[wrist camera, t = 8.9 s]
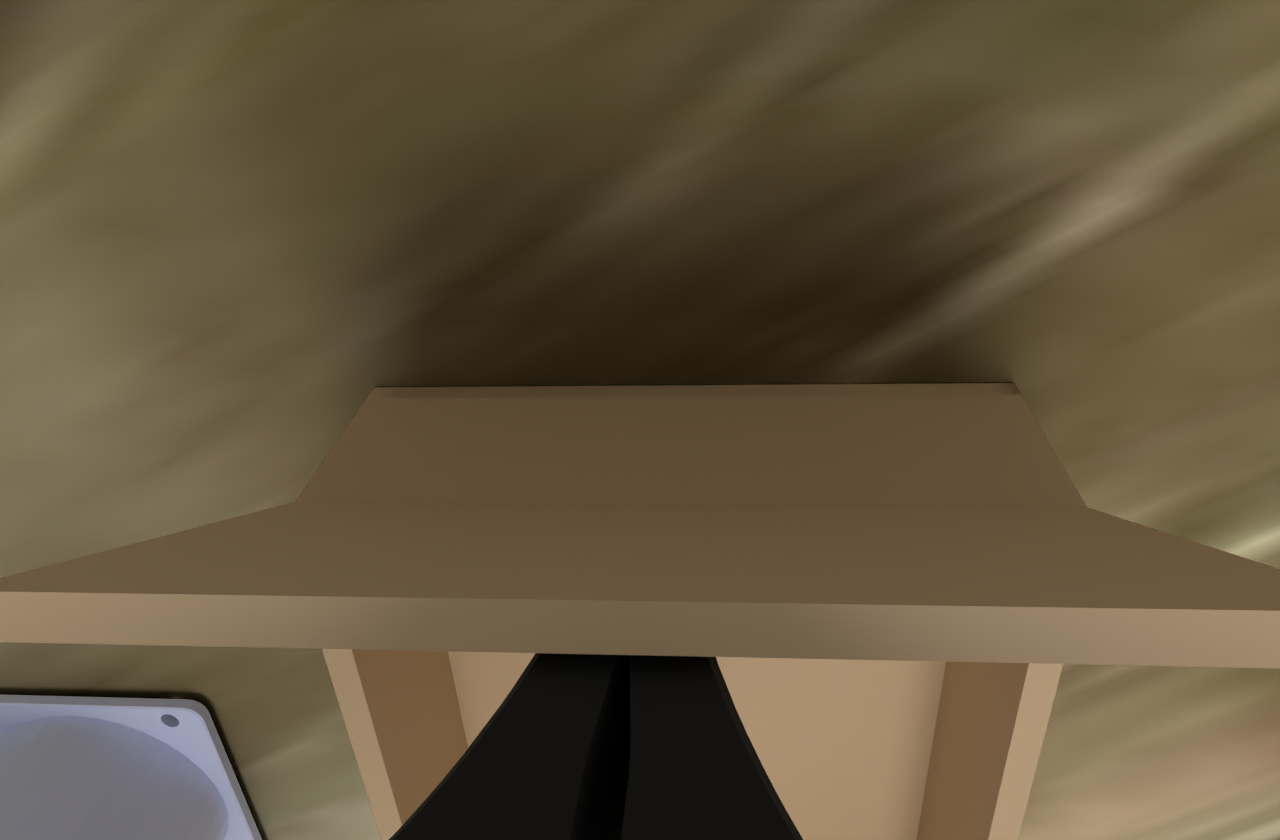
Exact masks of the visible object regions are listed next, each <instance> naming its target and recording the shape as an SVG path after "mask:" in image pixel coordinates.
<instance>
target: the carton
mask: <svg viewBox="0 0 1280 840" xmlns="http://www.w3.org/2000/svg"><path fill="white" fill-rule="evenodd" d="M295 503H370V504H562V505H754V506H945V507H1087V506H1086V505H1085V503H1084V501H1083V499H1082V498H1081V496H1080V494H1079V493H1078V491H1077V489H1076V488H1075V486H1074V484H1073V482H1072V481H1071V479H1070V477H1069V476H1068V474H1067V472H1066V470H1065V469H1064V467H1063V465H1062V464H1061V462H1060V460H1059V459H1058V457H1057V455H1056V453H1055V452H1054V450H1053V448H1052V447H1051V445H1050V443H1049V441H1048V440H1047V438H1046V436H1045V435H1044V433H1043V431H1042V430H1041V428H1040V426H1039V424H1038V423H1037V421H1036V419H1035V418H1034V416H1033V414H1032V412H1031V411H1030V409H1029V407H1028V406H1027V404H1026V402H1025V401H1024V399H1023V397H1022V395H1021V394H1020V392H1019V390H1018V389H1017V387H1016V385H1015V384H1014V383H950V384H806V385H661V386H516V387H374V389H373V390H372V392H371V393H370V394H369V396H368V397H367V399H366V400H365V402H364V403H363V405H362V406H361V408H360V409H359V410H358V412H357V413H356V415H355V416H354V418H353V419H352V421H351V422H350V423H349V425H348V426H347V428H346V429H345V431H344V432H343V434H342V435H341V437H340V438H339V439H338V441H337V442H336V444H335V445H334V447H333V448H332V450H331V451H330V452H329V454H328V455H327V457H326V458H325V460H324V461H323V463H322V464H321V466H320V467H319V468H318V470H317V471H316V473H315V474H314V476H313V477H312V479H311V480H310V482H309V483H308V484H307V486H306V487H305V489H304V490H303V492H302V493H301V495H300V496H299V497H298V499H297V500H296V502H295ZM322 651H323V654H324V657H325V661H326V664H327V667H328V670H329V673H330V677H331V680H332V683H333V686H334V690H335V693H336V696H337V699H338V702H339V706H340V709H341V712H342V715H343V719H344V722H345V725H346V728H347V731H348V735H349V738H350V741H351V744H352V748H353V751H354V754H355V757H356V761H357V764H358V767H359V770H360V773H361V777H362V780H363V783H364V786H365V790H366V793H367V796H368V799H369V802H370V806H371V809H372V812H373V815H374V819H375V822H376V825H377V828H378V831H379V835H380V838H381V840H389V839H390V838H391V837H392V836H393V835H394V834H395V833H396V832H397V831H398V830H399V828H400V827H401V826H402V825H403V824H404V823H405V822H406V821H407V820H408V819H409V817H410V816H411V815H412V814H413V813H414V812H415V811H416V810H417V808H418V807H419V806H420V805H421V804H422V803H423V802H424V801H425V800H426V798H427V797H428V796H429V795H430V794H431V793H432V792H433V790H434V789H435V788H436V787H437V786H438V785H439V783H440V782H441V781H442V780H443V779H444V777H445V776H446V775H447V774H448V773H449V771H450V770H451V769H452V768H453V766H454V765H455V764H456V763H457V762H458V760H459V759H460V758H461V757H462V755H463V754H464V753H465V752H466V750H467V749H468V748H469V746H470V745H471V744H472V742H473V741H474V740H475V738H476V737H477V736H478V734H479V733H480V732H481V730H482V729H483V728H484V726H485V725H486V724H487V722H488V721H489V720H490V718H491V717H492V716H493V715H494V713H495V712H496V711H497V709H498V708H499V707H500V705H501V704H502V702H503V701H504V700H505V698H506V697H507V695H508V694H509V693H510V691H511V690H512V688H513V687H514V685H515V684H516V682H517V681H518V679H519V678H520V676H521V675H522V673H523V672H524V670H525V669H526V667H527V666H528V664H529V663H530V661H531V660H532V658H533V657H534V655H535V653H504V652H455V651H406V650H357V649H322ZM716 659H717V662H718V665H719V668H720V670H721V673H722V675H723V678H724V680H725V683H726V685H727V688H728V690H729V693H730V695H731V698H732V700H733V703H734V705H735V708H736V710H737V712H738V714H739V717H740V719H741V721H742V723H743V726H744V728H745V730H746V732H747V735H748V737H749V739H750V741H751V743H752V745H753V747H754V749H755V751H756V753H757V755H758V757H759V759H760V761H761V763H762V765H763V768H764V769H765V771H766V773H767V775H768V777H769V779H770V781H771V783H772V785H773V787H774V789H775V791H776V792H777V794H778V796H779V798H780V800H781V802H782V804H783V805H784V807H785V809H786V811H787V812H788V814H789V816H790V818H791V819H792V821H793V823H794V825H795V826H796V828H797V830H798V831H799V833H800V835H801V837H802V838H803V840H1018V837H1019V833H1020V829H1021V825H1022V822H1023V818H1024V814H1025V810H1026V806H1027V802H1028V798H1029V794H1030V791H1031V787H1032V783H1033V779H1034V775H1035V771H1036V767H1037V763H1038V760H1039V756H1040V752H1041V748H1042V744H1043V740H1044V736H1045V732H1046V729H1047V725H1048V721H1049V717H1050V713H1051V709H1052V705H1053V701H1054V698H1055V694H1056V690H1057V686H1058V682H1059V678H1060V674H1061V670H1062V667H1063V664H1040V663H991V662H943V661H894V660H845V659H796V658H747V657H716Z"/></svg>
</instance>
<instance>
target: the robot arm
mask: <svg viewBox="0 0 1280 840" xmlns="http://www.w3.org/2000/svg"><path fill="white" fill-rule="evenodd" d="M0 840H262V838H261V836H260V833H259V831H258V829H257V826H256V824H255V821H254V819H253V817H252V814H251V812H250V809H249V807H248V805H247V802H246V800H245V797H244V795H243V793H242V790H241V788H240V785H239V783H238V781H237V778H236V776H235V773H234V771H233V769H232V766H231V764H230V761H229V759H228V757H227V754H226V752H225V749H224V747H223V744H222V742H221V740H220V737H219V735H218V732H217V730H216V728H215V725H214V723H213V720H212V718H211V716H210V713H209V711H208V710H207V708H206V707H205V706H204V705H203V704H201V703H200V702H197V701H195V700H189V699H155V698H117V697H79V696H40V695H2V694H0ZM389 840H803V838H802V837H801V835H800V833H799V831H798V830H797V828H796V826H795V825H794V823H793V821H792V819H791V818H790V816H789V814H788V812H787V811H786V809H785V807H784V805H783V804H782V802H781V800H780V798H779V796H778V794H777V792H776V791H775V789H774V787H773V785H772V783H771V781H770V779H769V777H768V775H767V773H766V771H765V769H764V768H763V765H762V763H761V761H760V759H759V757H758V755H757V753H756V751H755V749H754V747H753V745H752V743H751V741H750V739H749V737H748V735H747V732H746V730H745V728H744V726H743V723H742V721H741V719H740V717H739V714H738V712H737V710H736V708H735V705H734V703H733V700H732V698H731V695H730V693H729V690H728V688H727V685H726V683H725V680H724V678H723V675H722V673H721V670H720V668H719V665H718V662H717V659H716V657H699V656H650V655H601V654H552V653H535V655H534V657H533V658H532V660H531V661H530V663H529V664H528V666H527V667H526V669H525V670H524V672H523V673H522V675H521V676H520V678H519V679H518V681H517V682H516V684H515V685H514V687H513V688H512V690H511V691H510V693H509V694H508V695H507V697H506V698H505V700H504V701H503V702H502V704H501V705H500V707H499V708H498V709H497V711H496V712H495V713H494V715H493V716H492V717H491V718H490V720H489V721H488V722H487V724H486V725H485V726H484V728H483V729H482V730H481V732H480V733H479V734H478V736H477V737H476V738H475V740H474V741H473V742H472V744H471V745H470V746H469V748H468V749H467V750H466V752H465V753H464V754H463V755H462V757H461V758H460V759H459V760H458V762H457V763H456V764H455V765H454V766H453V768H452V769H451V770H450V771H449V773H448V774H447V775H446V776H445V777H444V779H443V780H442V781H441V782H440V783H439V785H438V786H437V787H436V788H435V789H434V790H433V792H432V793H431V794H430V795H429V796H428V797H427V798H426V800H425V801H424V802H423V803H422V804H421V805H420V806H419V807H418V808H417V810H416V811H415V812H414V813H413V814H412V815H411V816H410V817H409V819H408V820H407V821H406V822H405V823H404V824H403V825H402V826H401V827H400V828H399V830H398V831H397V832H396V833H395V834H394V835H393V836H392V837H391V838H390V839H389Z"/></svg>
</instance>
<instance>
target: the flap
mask: <svg viewBox="0 0 1280 840" xmlns="http://www.w3.org/2000/svg"><path fill="white" fill-rule="evenodd" d="M0 642H16V643H65V644H113V645H162V646H211V647H260V648H308V649H357V650H406V651H455V652H504V653H552V654H601V655H650V656H699V657H747V658H796V659H845V660H894V661H943V662H991V663H1040V664H1089V665H1138V666H1186V667H1235V668H1280V569H1277V568H1274V567H1271V566H1268V565H1265V564H1262V563H1259V562H1255V561H1252V560H1249V559H1246V558H1243V557H1240V556H1237V555H1234V554H1231V553H1227V552H1224V551H1221V550H1218V549H1215V548H1212V547H1209V546H1206V545H1202V544H1199V543H1196V542H1193V541H1190V540H1187V539H1184V538H1181V537H1177V536H1174V535H1171V534H1168V533H1165V532H1162V531H1159V530H1156V529H1153V528H1149V527H1146V526H1143V525H1140V524H1137V523H1134V522H1131V521H1128V520H1124V519H1121V518H1118V517H1115V516H1112V515H1109V514H1106V513H1103V512H1099V511H1096V510H1093V509H1090V508H1087V507H945V506H754V505H562V504H370V503H289V504H286V505H282V506H278V507H274V508H270V509H266V510H262V511H259V512H255V513H251V514H247V515H243V516H239V517H236V518H232V519H228V520H224V521H220V522H216V523H212V524H209V525H205V526H201V527H197V528H193V529H189V530H185V531H182V532H178V533H174V534H170V535H166V536H162V537H159V538H155V539H151V540H147V541H143V542H139V543H135V544H132V545H128V546H124V547H120V548H116V549H112V550H108V551H105V552H101V553H97V554H93V555H89V556H85V557H82V558H78V559H74V560H70V561H66V562H62V563H58V564H55V565H51V566H47V567H43V568H39V569H35V570H31V571H28V572H24V573H20V574H16V575H12V576H8V577H4V578H1V579H0Z"/></svg>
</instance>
